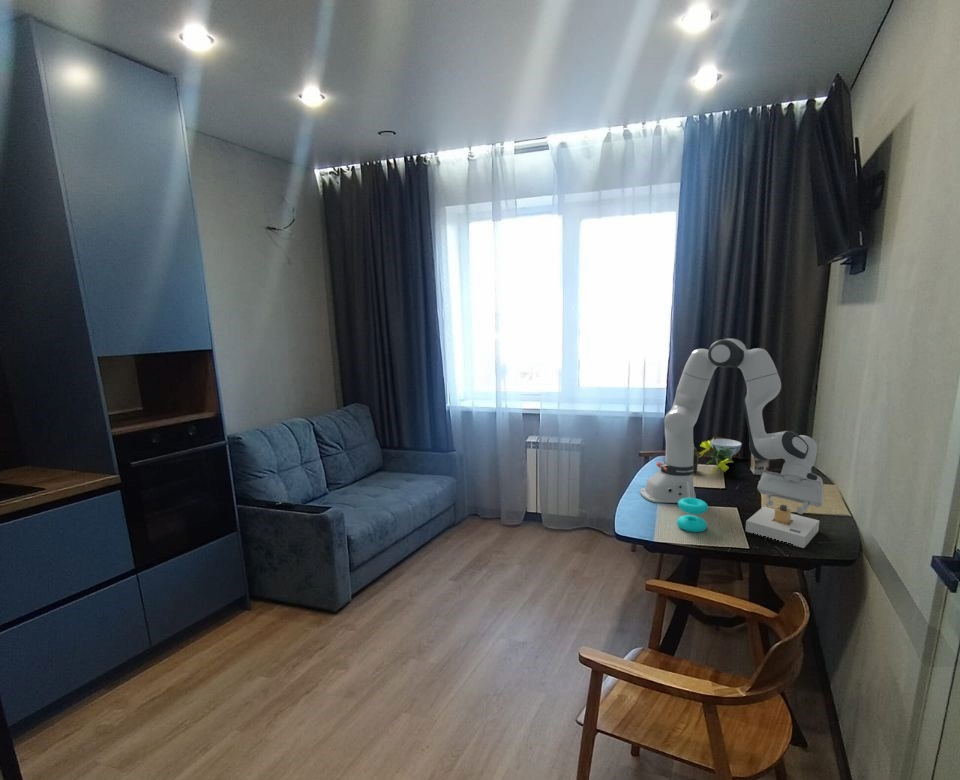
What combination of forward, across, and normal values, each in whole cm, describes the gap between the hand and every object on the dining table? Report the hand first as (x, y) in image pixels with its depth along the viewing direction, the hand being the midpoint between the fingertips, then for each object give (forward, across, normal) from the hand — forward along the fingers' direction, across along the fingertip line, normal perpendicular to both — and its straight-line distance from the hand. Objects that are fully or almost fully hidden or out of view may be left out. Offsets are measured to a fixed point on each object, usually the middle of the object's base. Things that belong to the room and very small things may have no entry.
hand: (783, 509), depth 174 cm
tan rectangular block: (+6, 0, +5) cm, 8 cm away
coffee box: (-38, -28, +50) cm, 69 cm away
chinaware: (-50, -50, +62) cm, 94 cm away
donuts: (+20, -24, -8) cm, 32 cm away
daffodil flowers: (-34, -45, +46) cm, 72 cm away
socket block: (+6, 0, +5) cm, 8 cm away
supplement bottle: (-23, -52, +35) cm, 67 cm away
